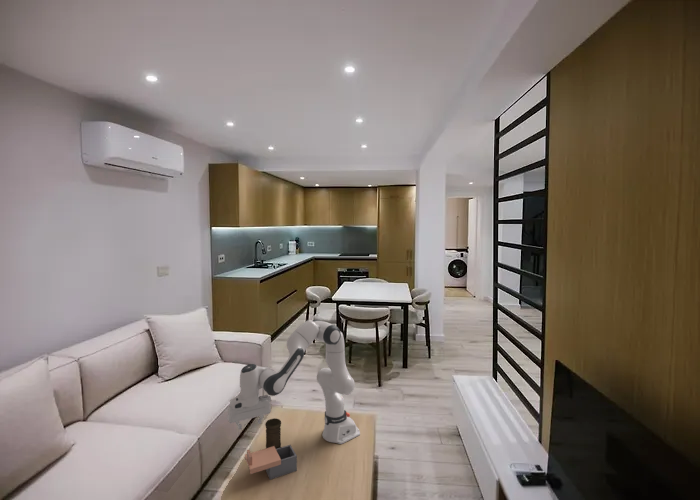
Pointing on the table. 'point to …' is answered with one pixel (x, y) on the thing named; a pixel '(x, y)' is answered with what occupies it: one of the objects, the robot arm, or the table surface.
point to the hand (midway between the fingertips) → (249, 426)
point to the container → (273, 433)
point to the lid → (262, 459)
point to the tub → (284, 462)
